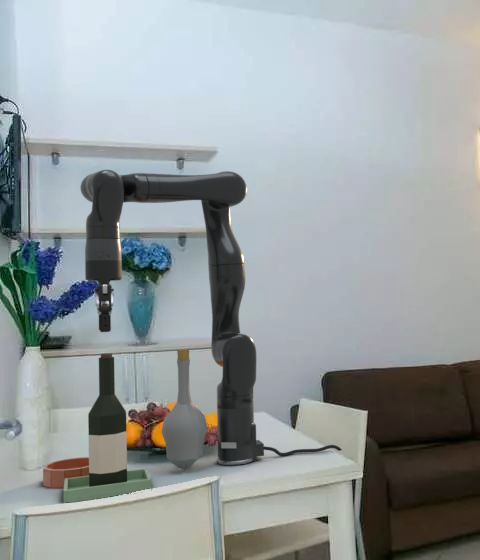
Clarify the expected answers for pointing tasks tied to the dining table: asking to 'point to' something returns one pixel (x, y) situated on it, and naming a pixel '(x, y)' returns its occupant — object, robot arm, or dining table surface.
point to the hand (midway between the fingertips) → (104, 331)
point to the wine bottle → (107, 431)
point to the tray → (105, 486)
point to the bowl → (64, 471)
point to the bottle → (184, 422)
